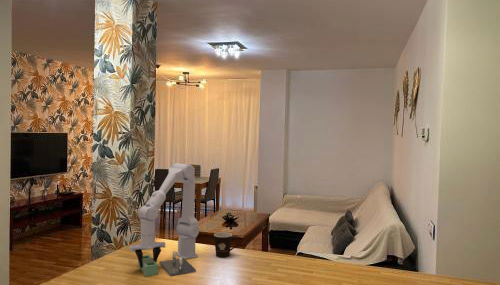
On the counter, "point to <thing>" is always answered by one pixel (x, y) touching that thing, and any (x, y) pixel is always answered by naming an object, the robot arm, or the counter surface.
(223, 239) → the coffee mug
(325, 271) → the counter surface
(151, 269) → the green block with holes
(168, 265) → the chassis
